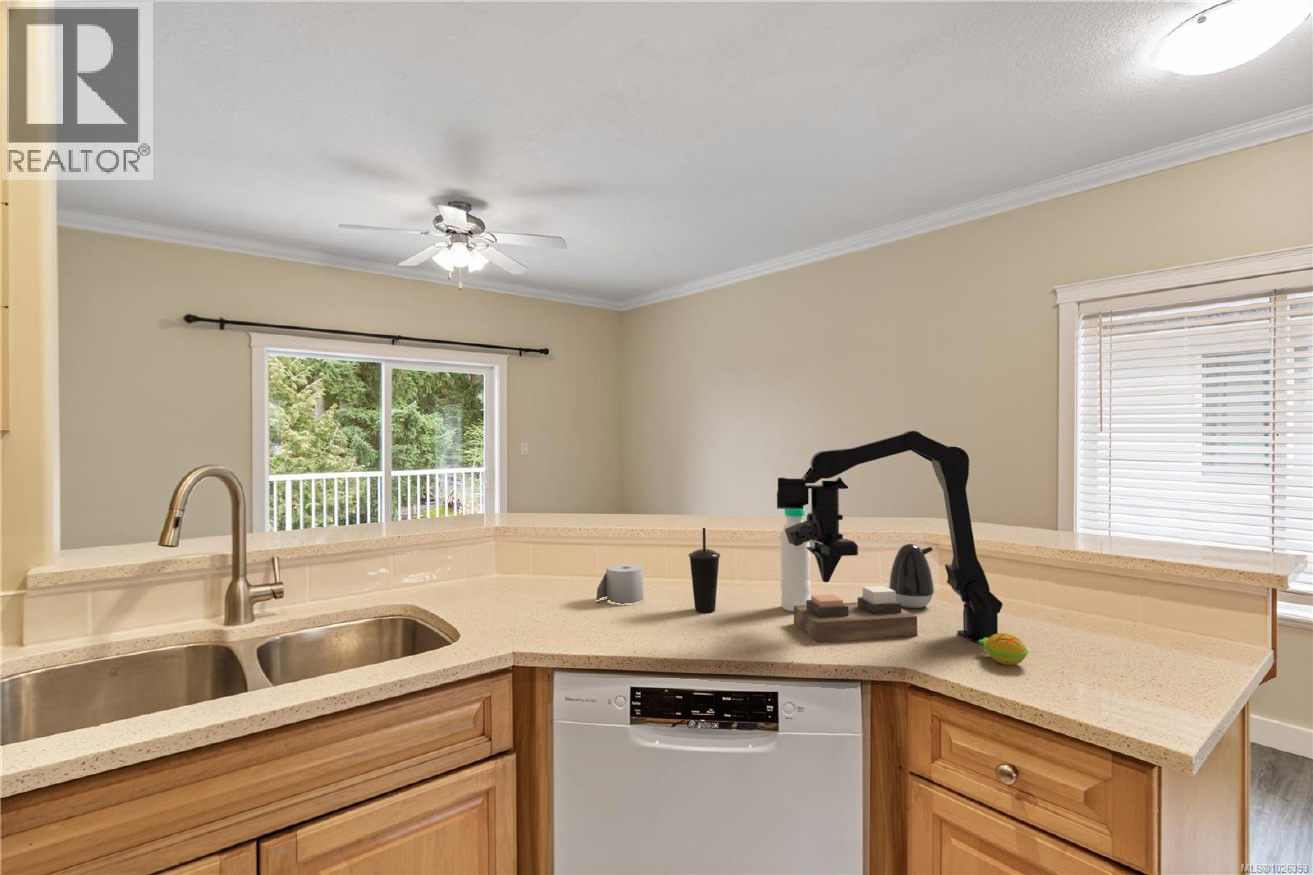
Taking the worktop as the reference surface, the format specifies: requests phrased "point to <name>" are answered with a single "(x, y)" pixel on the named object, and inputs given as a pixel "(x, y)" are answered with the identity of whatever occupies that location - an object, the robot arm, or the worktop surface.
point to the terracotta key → (826, 600)
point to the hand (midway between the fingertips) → (825, 581)
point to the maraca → (1005, 648)
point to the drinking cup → (704, 577)
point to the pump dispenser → (912, 577)
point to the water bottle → (794, 565)
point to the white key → (879, 595)
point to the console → (854, 621)
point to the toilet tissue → (622, 584)
